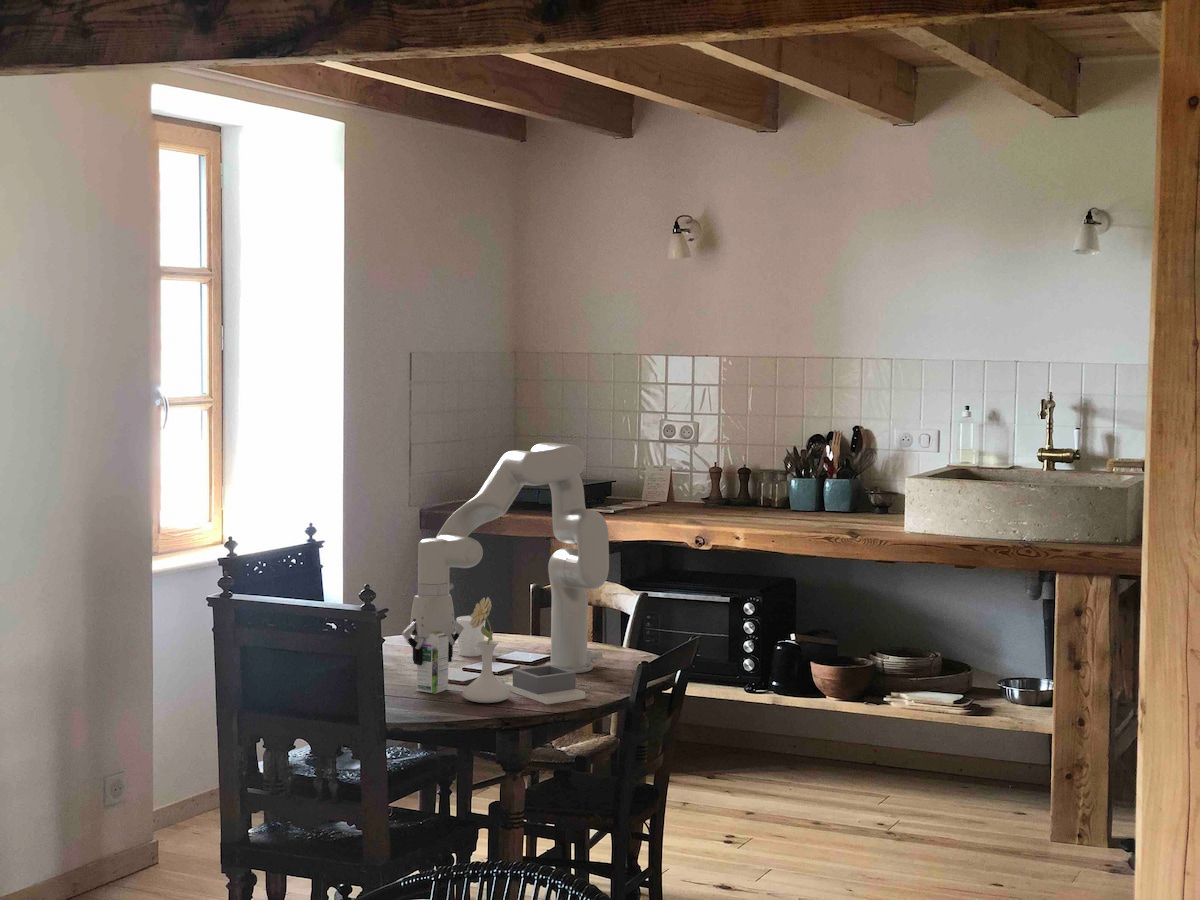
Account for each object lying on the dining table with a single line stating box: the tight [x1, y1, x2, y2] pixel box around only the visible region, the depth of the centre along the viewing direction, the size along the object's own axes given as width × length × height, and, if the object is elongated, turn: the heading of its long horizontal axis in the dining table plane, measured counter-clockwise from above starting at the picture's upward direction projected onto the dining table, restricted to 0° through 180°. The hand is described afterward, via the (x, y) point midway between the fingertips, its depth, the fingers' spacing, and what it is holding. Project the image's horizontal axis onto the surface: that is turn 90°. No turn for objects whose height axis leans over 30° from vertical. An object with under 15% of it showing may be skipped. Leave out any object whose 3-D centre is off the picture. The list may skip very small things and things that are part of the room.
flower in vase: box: [462, 596, 512, 704], centre depth 320 cm, size 13×11×25 cm
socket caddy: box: [503, 664, 586, 705], centre depth 330 cm, size 11×19×6 cm, turn 36°
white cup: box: [456, 615, 486, 658], centre depth 375 cm, size 8×8×10 cm
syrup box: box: [416, 632, 449, 695], centre depth 331 cm, size 6×6×14 cm
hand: (432, 662), depth 331 cm, fingers closed on syrup box, 7 cm apart
